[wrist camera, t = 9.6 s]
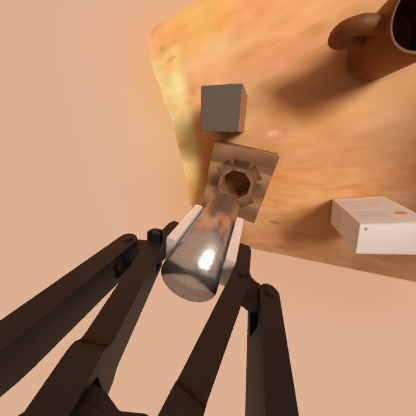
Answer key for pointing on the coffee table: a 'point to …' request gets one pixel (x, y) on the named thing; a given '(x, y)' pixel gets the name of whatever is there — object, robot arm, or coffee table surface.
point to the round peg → (202, 251)
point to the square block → (223, 108)
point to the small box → (375, 225)
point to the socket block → (243, 162)
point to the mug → (378, 39)
